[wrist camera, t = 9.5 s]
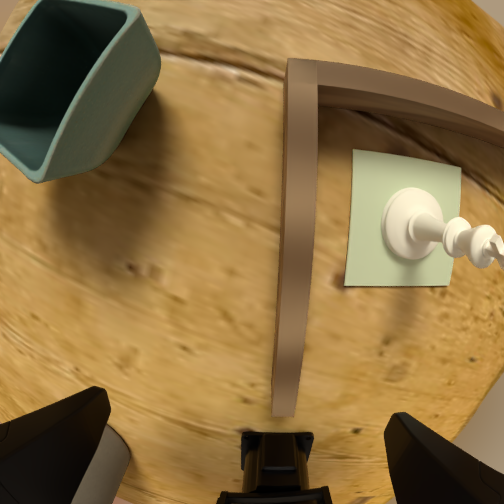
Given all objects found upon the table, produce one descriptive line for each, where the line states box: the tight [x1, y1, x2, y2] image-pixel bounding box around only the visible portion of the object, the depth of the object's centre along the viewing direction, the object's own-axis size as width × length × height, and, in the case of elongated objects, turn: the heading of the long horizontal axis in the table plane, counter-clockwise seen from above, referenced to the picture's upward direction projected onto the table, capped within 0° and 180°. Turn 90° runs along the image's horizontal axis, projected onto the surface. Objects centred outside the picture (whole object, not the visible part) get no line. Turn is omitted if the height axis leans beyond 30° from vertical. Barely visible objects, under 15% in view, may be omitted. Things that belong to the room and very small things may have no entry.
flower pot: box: [0, 0, 161, 184], centre depth 13 cm, size 9×9×9 cm
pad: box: [344, 149, 461, 286], centre depth 18 cm, size 9×9×1 cm
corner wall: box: [271, 58, 504, 417], centre depth 16 cm, size 22×22×4 cm
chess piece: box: [381, 187, 504, 270], centre depth 13 cm, size 5×5×10 cm
